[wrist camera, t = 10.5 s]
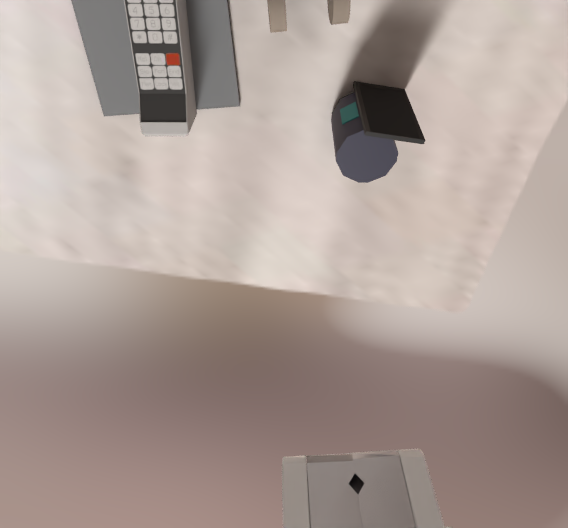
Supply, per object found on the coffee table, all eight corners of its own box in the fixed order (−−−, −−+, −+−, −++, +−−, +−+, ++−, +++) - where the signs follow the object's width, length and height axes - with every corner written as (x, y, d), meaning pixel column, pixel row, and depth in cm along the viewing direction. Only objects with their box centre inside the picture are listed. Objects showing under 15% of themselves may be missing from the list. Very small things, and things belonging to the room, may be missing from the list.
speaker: (359, 61, 41) (375, 105, 34) (405, 89, 42) (429, 137, 36) (318, 125, 45) (325, 175, 38) (362, 148, 46) (376, 201, 40)
